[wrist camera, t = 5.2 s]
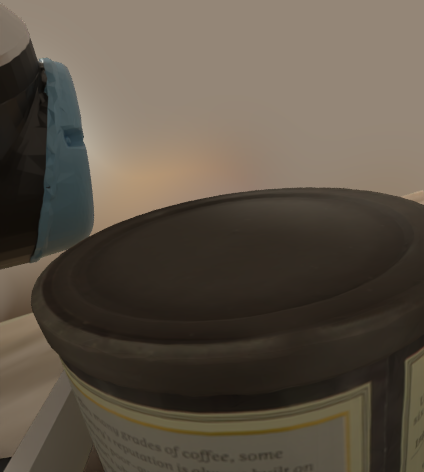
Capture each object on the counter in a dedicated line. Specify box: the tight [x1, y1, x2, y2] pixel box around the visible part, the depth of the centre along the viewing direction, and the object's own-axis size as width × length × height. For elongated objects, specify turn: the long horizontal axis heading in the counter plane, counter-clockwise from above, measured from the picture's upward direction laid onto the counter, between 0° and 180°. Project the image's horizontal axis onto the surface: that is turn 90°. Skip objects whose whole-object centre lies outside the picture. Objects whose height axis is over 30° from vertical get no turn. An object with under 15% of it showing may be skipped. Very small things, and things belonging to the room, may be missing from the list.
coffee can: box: [31, 187, 424, 472], centre depth 11 cm, size 10×10×14 cm
